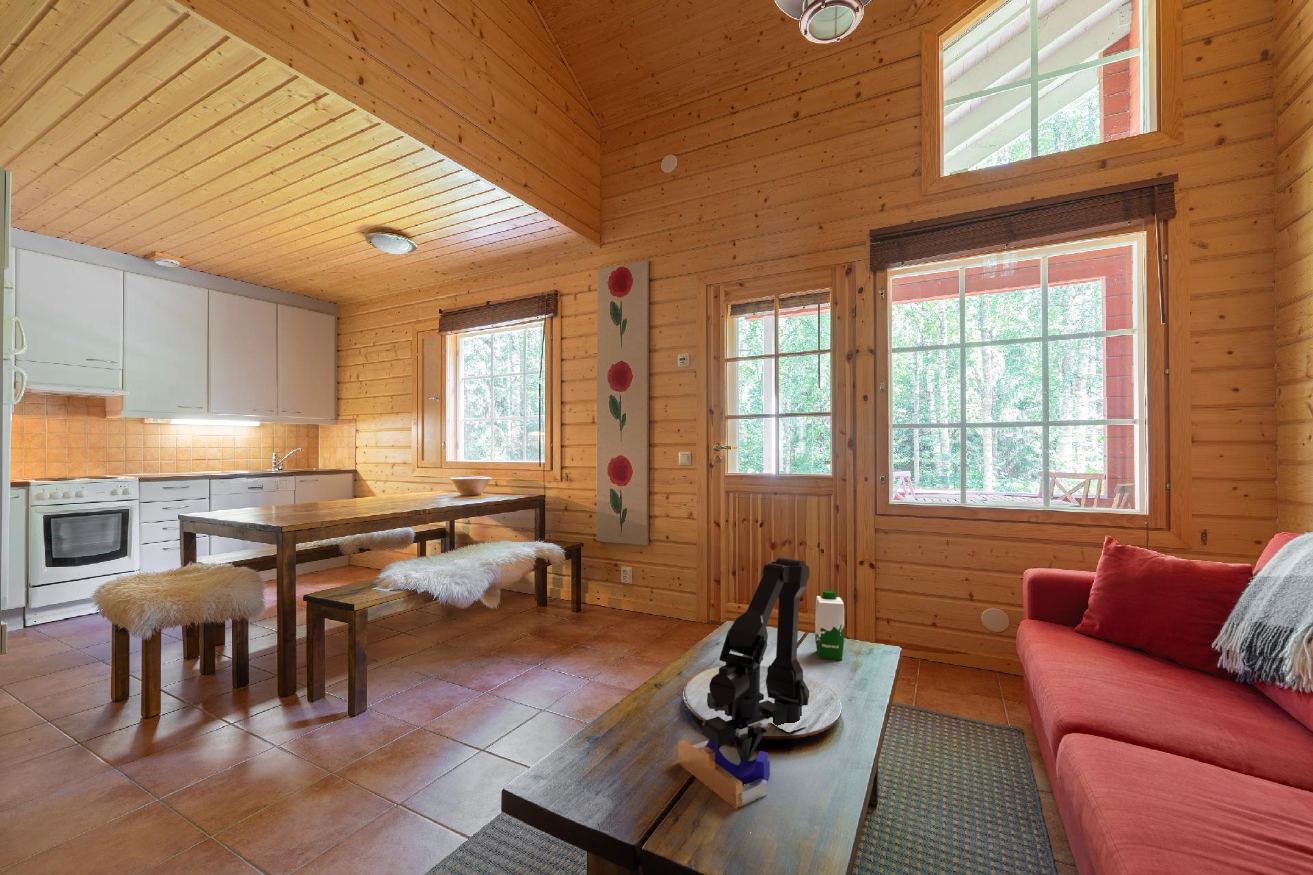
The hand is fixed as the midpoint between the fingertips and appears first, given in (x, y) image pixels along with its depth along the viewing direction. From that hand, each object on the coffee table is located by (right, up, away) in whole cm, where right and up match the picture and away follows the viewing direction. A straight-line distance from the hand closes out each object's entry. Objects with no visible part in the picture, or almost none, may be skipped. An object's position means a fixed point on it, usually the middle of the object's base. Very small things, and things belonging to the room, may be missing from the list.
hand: (744, 762), depth 118 cm
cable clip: (-2, -1, -3) cm, 3 cm away
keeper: (-5, -1, -4) cm, 7 cm away
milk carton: (+37, -3, +65) cm, 75 cm away
